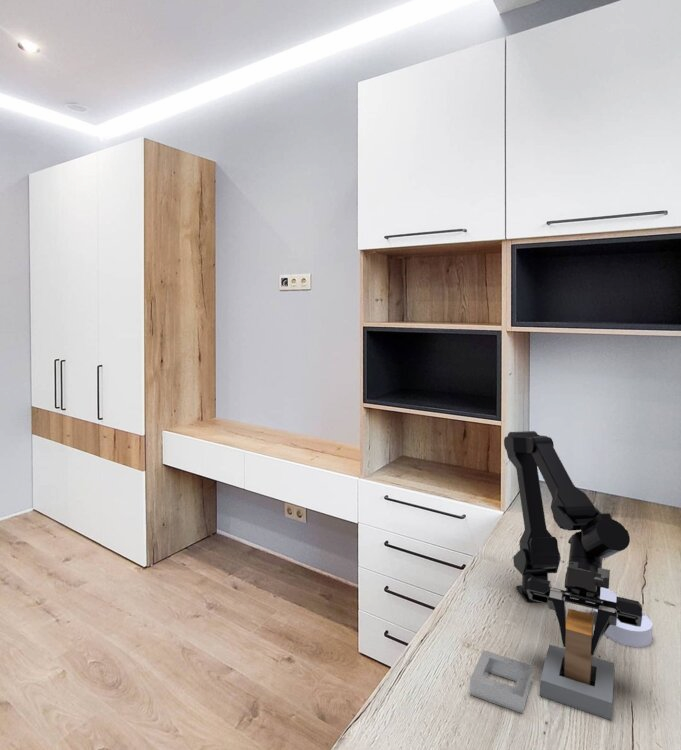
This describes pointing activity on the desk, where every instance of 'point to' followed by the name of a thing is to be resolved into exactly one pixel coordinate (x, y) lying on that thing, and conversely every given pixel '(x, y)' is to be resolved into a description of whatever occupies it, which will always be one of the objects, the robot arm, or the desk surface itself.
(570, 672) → the plug
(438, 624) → the desk surface
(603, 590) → the wedge on round base
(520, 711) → the frame
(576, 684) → the socket
